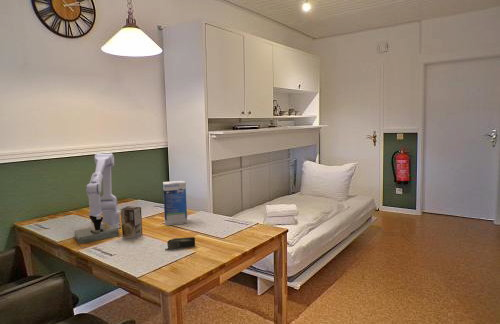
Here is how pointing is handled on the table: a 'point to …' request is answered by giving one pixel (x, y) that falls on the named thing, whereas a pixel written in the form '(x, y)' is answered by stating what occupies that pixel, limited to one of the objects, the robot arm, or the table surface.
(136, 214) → the coffee box
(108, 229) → the port cover
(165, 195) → the string lights box
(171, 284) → the table surface
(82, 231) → the grey flat block
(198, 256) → the table surface
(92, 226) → the cream can
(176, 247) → the mobile phone
